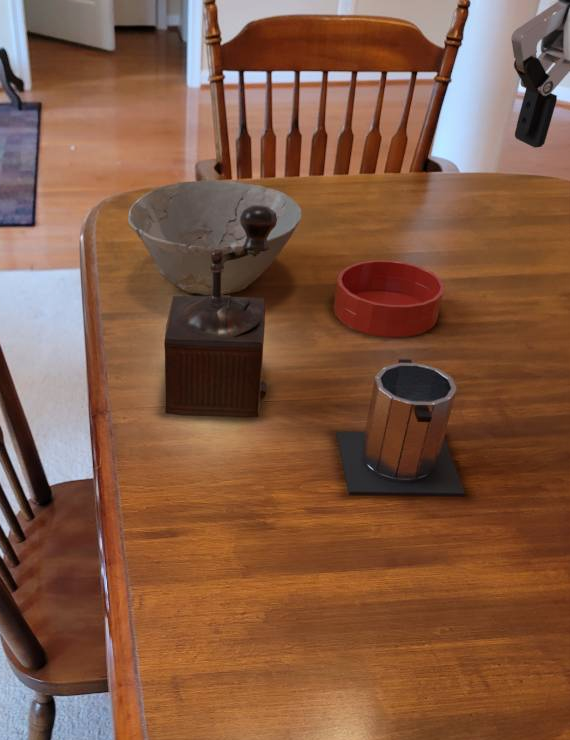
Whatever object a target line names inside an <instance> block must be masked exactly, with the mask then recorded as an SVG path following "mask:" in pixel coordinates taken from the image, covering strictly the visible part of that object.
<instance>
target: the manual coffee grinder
mask: <svg viewBox="0 0 570 740" xmlns="http://www.w3.org/2000/svg"><path fill="white" fill-rule="evenodd" d="M276 223H277V217H276V213H275V212H274V211H273V210H271V209H270V208H269V207H267V206H262V205H253V206H250V207H249V208H247V209H245V210H244V211H243V212H242V214H241V216H240V224H241V225H242V227H243V229H244V230H245V233H246V236H247V238H246V241H245V244H244V245H243V249H244V250H241V251H236V252H230V253H224V254H223V253H222V251H220V250H215V251H213V252H212V253H211V255H210V258H211V261H212V263H211V264H210V267H211V268H210V272H212V295H173V296H172V298H171V299H172V300H171V304H170V308H169V312H168V315H167V320H166V323H165V334H164V342H163V343H164V344H163V345H164V346H163V347H164V373H165V374H164V376H165V377H164V378H165V380H164V383H165V386H164V387H165V408H164V414H168V415H178V416H193V417H194V416H195V417H197V416H198V417H218V418H219V417H220V418H243V419H246V418H247V419H249V418H251V419H252V418H259V417H260V411H261V404H262V401H263V398H264V397H265V396H266V394H267V383H266V382H265V381H262V378H263V377H262V376H263V359H264V344H265V343H264V342H265V328H266V326H265V324H266V306H265V305H266V304H265V298H264V297H253V296H252V297H249V296H231V294H224V295H221V273H222V272H223V271H224V265H223V263H224V262H226V261H229V260H235V259H239V258H242V257H245V256H247V255H252V256H254V257H255V256H256V255H257V254H260V252H262V251H267V250H269V246H268V242H267V237H268V235H269V234H270V232H271V231H272V229H273V228H274V227H275V226H276Z"/></svg>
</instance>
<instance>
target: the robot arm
mask: <svg viewBox="0 0 570 740" xmlns="http://www.w3.org/2000/svg"><path fill="white" fill-rule="evenodd" d="M539 43H540V52H541V53H540V54H539V55H538V56H537V54H538V50H537V49H538V44H539ZM511 46H512V53H513V58H514V62H513V68H514V70H515V71H516V73H517V76H518V77H519V78H520V86H521V87H522V88H524V89H525V90H524V95H523V99H522V103H521V106H520V111H519V114H518V117H517V122H516V128H515V131H514V138H515V139H516V140H518V141H519V142H520V141H521V142H522V143H524V144H527V145H528V146H530V147H532V148H534V149H535V148H536V149H537V148H542V146H544V145H545V143H546V139H547V135H548V134H549V133H548V132H549V129H550V126H551V122H552V119H553V115H554V113H555V112H554V111H555V108H556V105H557V101H558V95H557V94H554V93H553V92H554V90H555V89H556V88H557V87H558V86H559V84H561V82H562V81H563V80H564V79H565V78H566V77H567V75H568V74H569V73H570V0H550V3H549V6H548V8H546V9H544V10H543V11H542V12H540V13H539V14H537V15H536V16H534V17H533V18H531V19H530V20H528V21H526V22H525V23H524V24H522V25H521V26H519V27H518V28H516V29H515V30H514V31H513V32H512V34H511ZM553 64H554V65H553ZM552 65H553V66H552ZM551 66H552V67H551ZM550 67H551V68H550ZM549 68H550V69H549ZM548 70H549V71H548ZM547 71H548V72H547Z"/></svg>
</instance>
